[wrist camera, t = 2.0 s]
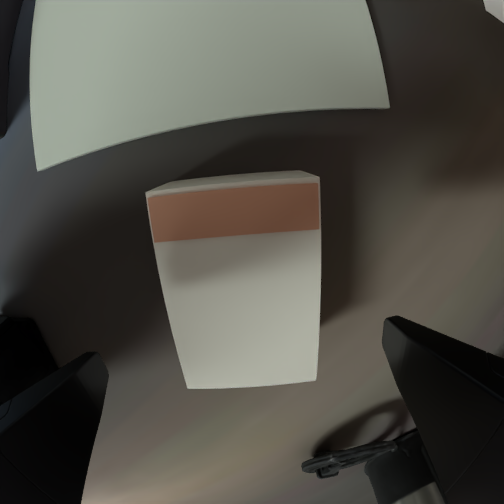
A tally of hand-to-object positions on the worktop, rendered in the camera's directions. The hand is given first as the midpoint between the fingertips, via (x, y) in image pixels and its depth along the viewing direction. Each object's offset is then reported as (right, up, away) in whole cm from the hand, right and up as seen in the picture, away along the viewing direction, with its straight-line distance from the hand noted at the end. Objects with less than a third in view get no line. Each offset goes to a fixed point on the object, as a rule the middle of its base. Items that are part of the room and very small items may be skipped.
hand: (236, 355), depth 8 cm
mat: (-3, +17, +1) cm, 17 cm away
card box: (0, +2, +7) cm, 7 cm away
